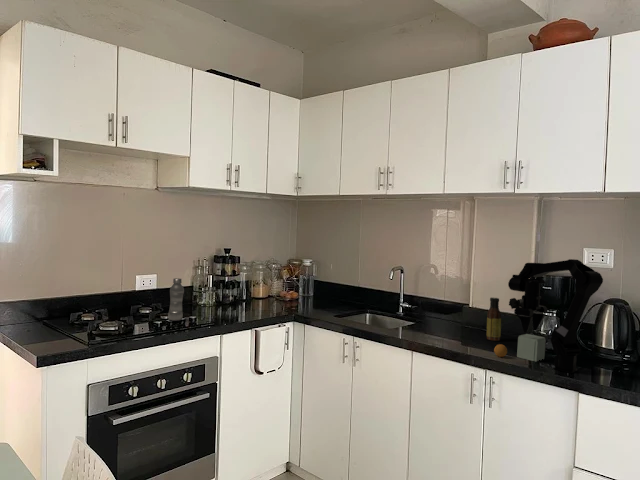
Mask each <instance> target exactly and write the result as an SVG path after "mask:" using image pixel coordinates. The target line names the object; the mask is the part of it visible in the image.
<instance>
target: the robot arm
mask: <svg viewBox="0 0 640 480" xmlns="http://www.w3.org/2000/svg"><path fill="white" fill-rule="evenodd" d="M566 271H569V272H570V275H571V277H572V278H573V279H575V283H574V287H575V294H574V295H573V299H572V300H571V303H570V306H569V308H568V310H567V312H566V315H565V317H564V319H563V321H562V324H561V325H560V326H554V327H553V329H552V332H551V334H550V342H551V346H552V351H553V354H556V355H554V365H553V366H554V367H553V370H557V371H561V372H565V373H570V374H573V373H575V372H577V371H578V368H577V356H578V355H580V354H581V352H582V349H581V347H580V345H579V344H578V342H577V338H578V336H577V335H578V334H577V329H578V325H579V324H580V322H581V319H582V317H583V314H584V312H585V309H586V307H587V305H588V303H589V302H590V298H591V297H592V296H593V295H594V294H595V293H596V292H597V291H599V289H600V288H601V286H602V285H603V282H604V278H603V276H602V274H601V273H600V272H598V271H596V270H595V269H593V268H592V267H589V266H587V265H586V264H585V263H583V262H582V261H581V260H579V259H575V258H573V259H571V258H569V259H567V260H559V261H551V262H545V263H544V262H543V263H542V262H526V263H525V264H524V265H523V268H522V269H521V271H520V272H519V273H518V274H512V276H511V278H510V279H509V280H508V288H509V290H511V291H514V292H522V293H524V294H523V295H521V298H519V299H517V298H515V297H512V298H510V299H509V301H508V306H510V308H511V310H513V309H514V310H513V312H514V313H513V314H514V315H515V316H516V317H518V319H519V321H520V323H521V326H522V331H523V333H525V334H528V331H529V329H530V326H531V323H532V329H533V331H537V330H538V328H539V326H540V325H541V323H542V321H543V319H544V318H545V317H546V314H548V310H549V309H548V308H547V306H546V305H540V300H541V299H542V296H540V295H541V284H546V281H545V280H544V279H543V278H542V277H543V276H546V275H548V274H551V273H557V272H558V273H559V272H566Z"/></svg>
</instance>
